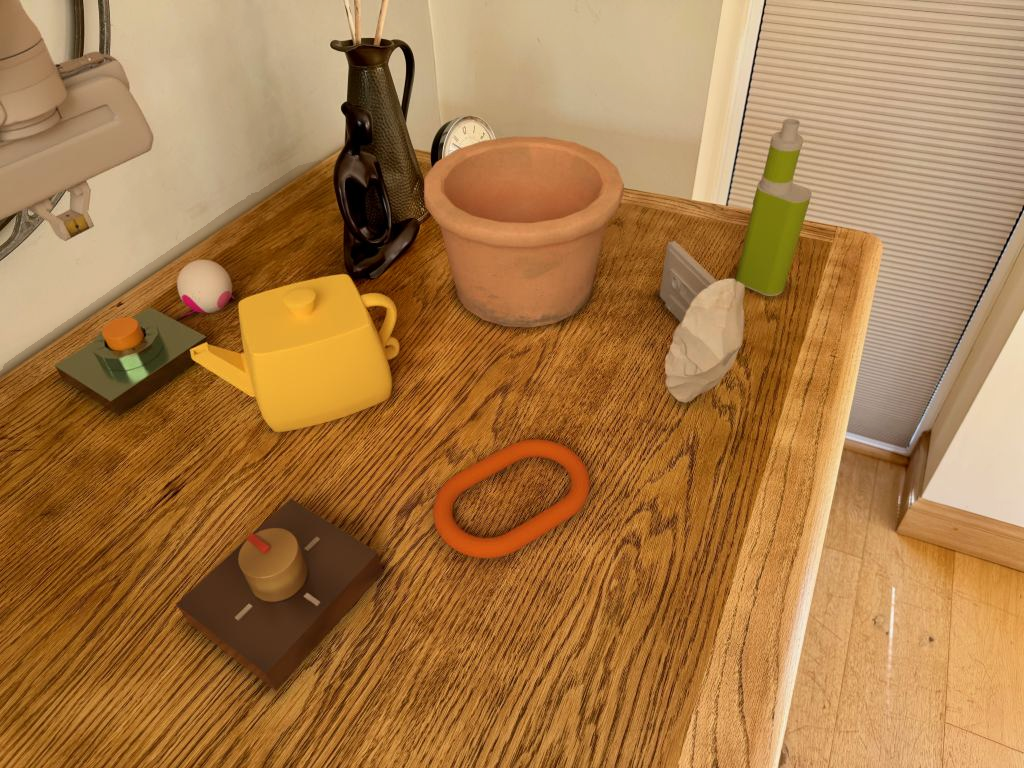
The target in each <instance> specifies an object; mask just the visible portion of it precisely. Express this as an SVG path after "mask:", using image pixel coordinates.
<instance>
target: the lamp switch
mask: <svg viewBox="0 0 1024 768" xmlns="http://www.w3.org/2000/svg"><path fill="white" fill-rule="evenodd" d="M132 318H134V319H136V320H137V321H138V323H139V325H140V327H141V330H142V332H143V334H144V338H143V340H142V341H141V343H139V344H137V345H136V346H134V347H133V348H129V349H126V350H123V351H115V350H112V349H111V348H109V346H108V344H107V342H106V340H105V339H104V337H103V335H102V330H101V331H99V332H98V334H97V335H96V337H94V339H93V340H92V342H89V344H87V345H85V346H83V347H82V348H80V349H79V350H77V351H75V352H74V353H72V354H71V355H69V356H67V357H65V358H64V359H62V360H61V361H59V362H57V363H56V364H53V365H54V368H55V369H56V371H57V373H58V374H59V376H60V377H61V379H62V380H63V382H65V383H66V384H69V385H70V386H72V387H73V388H75V389H76V390H78V391H79V392H81V393H82V394H84V395H85V396H87V397H89V398H90V399H92V400H93V401H95V402H97V403H98V404H100V405H101V406H103V407H104V408H106V409H107V410H109V411H110V412H111V413H113V414H115V415H116V416H118V417H120V416H122V415H123V414H124V413H125V412H127V411H128V410H130V409H131V408H132V407H134V406H135V405H137V404H138V403H140V402H141V401H143V400H144V399H146V398H147V397H148V396H150V395H151V394H153V393H154V392H156V391H158V390H159V389H160V388H162V387H163V386H164V385H166V384H167V383H169V382H171V381H172V380H173V379H175V378H176V377H177V376H179V375H180V374H182V373H183V372H184V371H186V370H187V369H189V368H190V367H192V366H193V365H195V364H196V363H197V362H195V361H194V360H193V359H192V358H191V353H190V349H192V348H195V347H197V346H199V345H201V344H204V343H206V342H207V343H208V344H209V345H211V343H209V339H208V338H207V337H208V336H206V335H205V334H202V333H200V332H198V331H196V330H194V329H192V328H191V327H189V326H188V325H185V324H184V323H181V322H179V321H177V320H175V319H174V318H172V317H170V316H168V315H166V314H164V313H162V312H161V311H159V310H158V309H157V310H156V309H155V308H153V307H151V306H149V307H147V308H146V309H144V310H142V311H141V312H139V313H138V314H135V315H134V316H133V317H132Z"/></svg>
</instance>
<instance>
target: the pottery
mask: <svg viewBox="0 0 1024 768" xmlns="http://www.w3.org/2000/svg"><path fill="white" fill-rule="evenodd" d="M423 185H424V186H423V193H424V194H423V199H424V207H425V208H426V210H427V211H428V213H429V214H430V215H431V216H432V218H433V219H434V220H435V222H436V223H437V225H438V226H439V228H440V232H441V236H442V239H443V244H444V247H445V252H446V255H447V259H448V263H449V267H450V270H451V275H452V277H453V282H454V285H455V289H456V294H457V298H458V299H459V300H460V302H461V304H462V305H463V307H464V308H465V309H466V310H467V311H469V312H470V313H471V314H473V315H474V316H477V317H478V318H480V319H481V320H483V321H485V322H488V323H492V324H495V325H499V326H503V327H507V328H527V329H529V328H530V329H532V328H537V327H543V326H547V325H552V324H556V323H558V322H560V321H562V320H565V319H567V318H569V317H572V316H573V315H575V314H577V313H578V311H580V310H581V309H582V307H584V306H585V305H586V304H587V302H589V299H590V296H591V293H592V290H593V285H594V279H595V275H596V271H597V266H598V263H599V258H600V255H601V249H602V246H603V242H604V237H605V233H606V228H607V224H608V222H609V221H610V220H611V219H612V218H613V217H614V216H616V214H618V211H619V209H620V205H621V203H622V202H621V201H622V198H623V195H624V187H625V184H624V181H623V179H622V177H621V174H620V172H619V169H618V167H617V165H616V164H614V163H613V162H612V161H611V160H610V159H608V158H607V157H606V156H605V155H604V154H602V153H601V152H600V151H597V150H596V149H595V150H594V149H592V148H590V147H587V146H584V145H582V144H580V143H577V142H574V141H570V140H569V141H568V140H564V139H559V138H553V137H548V136H508V137H501V138H494V139H493V138H492V139H486V140H482V141H478V142H475V143H472V144H470V145H466V146H464V147H460V148H457V149H455V150H453V151H452V152H450V153H448V154H446V156H444V157H442V158H441V159H439V160H437V161H436V162H435V163H434V165H433V166H432V167H431V169H430V170H429V171H428V173H427V174H426V175H425V177H424V180H423Z"/></svg>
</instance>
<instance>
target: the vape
mask: <svg viewBox="0 0 1024 768" xmlns="http://www.w3.org/2000/svg"><path fill="white" fill-rule="evenodd" d="M800 123H801V122H800V121H799V120H798V119H796V118H791V117H790V118H785V119H784V120H783V123H782V126H781V130H780V131H777V132H774V133H773V134H772V135H771V139H770V144H769V148H768V152H767V157H766V161H765V166H764V170H763V173H762V174H761V180H760V181H758V183H757V186H756V190H755V194H754V196H753V199H752V207H751V212H750V216H749V220H748V225H747V228H746V234H745V238H744V241H743V246H742V250H741V254H740V255H741V256H740V258H739V262H738V263H739V264H738V268H737V270H736V271H737V272H736V276H735V281H738V282H740V283H742V284H743V285H744V286H745V288H748V289H749V290H752V291H755V292H757V293H759V294H761V295H763V296H766V297H774V296H778V295H780V294H781V293H782V292H784V289H785V287H786V284H787V279H788V276H789V273H790V269H791V266H792V263H793V259H794V256H795V253H796V249H797V246H798V243H799V239H800V235H801V232H802V228H803V225H804V222H805V219H806V215H807V212H808V208H809V204H810V201H811V198H812V195H813V193H812V190H810V188H807V187H805V186H802V185H799V184H797V183H794V176H795V172H796V169H797V164H798V161H799V157H800V153H801V150H802V147H803V144H804V137H803V136H802V135H801V134H799V133H798V130H799V127H800Z"/></svg>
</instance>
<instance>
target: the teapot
mask: <svg viewBox="0 0 1024 768" xmlns="http://www.w3.org/2000/svg"><path fill="white" fill-rule="evenodd" d="M237 306H238V319H239V328H240V337H241V344H242V350H243V352H241V353H240V352H236V351H232V350H230V349H227V348H223V347H220V346H216V345H212V344H210V343H209V344H210V345H209V344H208V343H207V342H206V343H204V344H201V345H199V346H197V347H195V348H192V349H190V353H191V358H192V359H193V360H194V361H195V362H196V363H197V364H199V365H201V367H203V368H205V369H206V370H208V371H209V372H210V373H212V374H214V375H215V376H218V377H219V378H221V379H222V380H224V381H225V382H227V383H228V384H230V385H231V386H234V387H235V388H237V390H240V391H242V392H243V393H244V394H246V395H248V396H249V397H250V398H254V397H255V400H256V403H257V406H258V409H259V411H260V414H261V417H262V418H263V420H264V422H265V423H266V424H267V425H268V427H269V428H270V429H271V430H272V431H273V432H275V433H285V432H290V431H291V432H292V431H296V430H300V429H301V430H302V429H305V428H310V427H313V426H318V425H321V424H325V423H330V422H333V421H336V420H339V419H342V418H345V417H349V416H351V415H353V414H356V413H359V412H362V411H365V410H367V409H370V408H372V407H375V406H377V405H379V404H381V403H383V402H385V401H387V400H388V399H389V398H390V397H391V394H392V388H393V377H392V372H391V368H390V364H389V360H392V359H394V358H396V357H397V356H398V355H399V353H400V347H401V346H400V342H399V341H398V339H397V338H395V337H393V336H392V333H393V331H394V328H395V326H396V322H397V319H398V309H397V306H396V304H395V302H394V301H393V300H392V298H390V297H389V296H387V295H385V294H383V293H379V292H369V293H364V294H360V292H359V290H358V288H357V286H356V285H355V282H354V281H353V279H352V278H351V276H350V275H348V274H345V273H342V274H341V273H340V274H333V275H332V274H331V275H328V276H327V275H326V276H321V277H317V278H312V279H307V280H303V281H299V282H295V283H290V284H287V285H286V284H285V285H283V286H279V287H276V288H273V289H269V290H265V291H262V292H257V293H256V294H253V295H250V296H247V297H245V298H243V299H241V300H240V301H239V302H238V305H237ZM370 307H371V308H372V307H383V308H386V313H385V317H384V320H383V323H382V325H381V327H380V329H379V332H378V330H377V328H376V325H375V323H374V321H373V318H372V317H371V314H370V312H369V311H368V308H370Z"/></svg>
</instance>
